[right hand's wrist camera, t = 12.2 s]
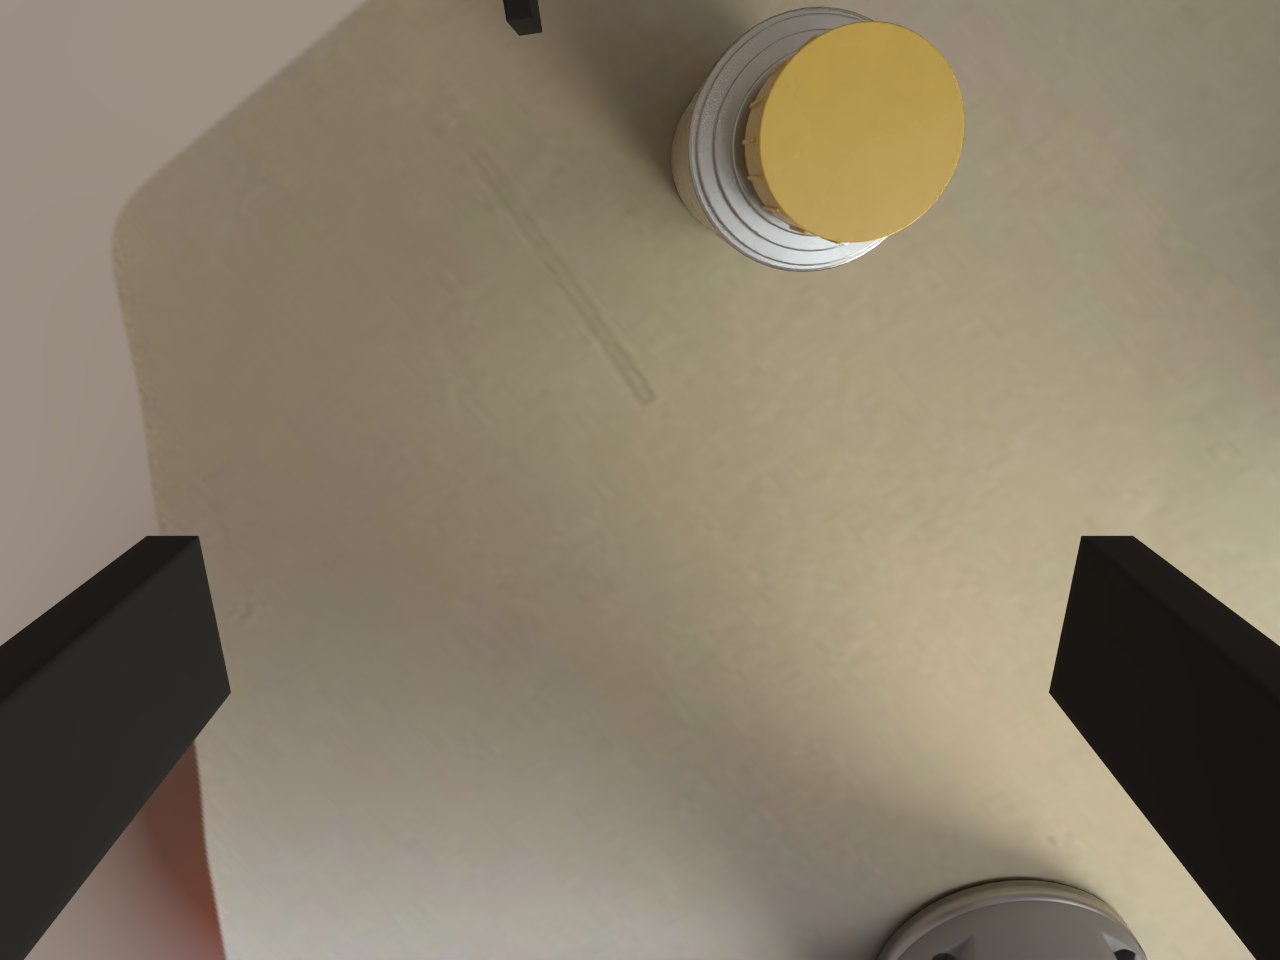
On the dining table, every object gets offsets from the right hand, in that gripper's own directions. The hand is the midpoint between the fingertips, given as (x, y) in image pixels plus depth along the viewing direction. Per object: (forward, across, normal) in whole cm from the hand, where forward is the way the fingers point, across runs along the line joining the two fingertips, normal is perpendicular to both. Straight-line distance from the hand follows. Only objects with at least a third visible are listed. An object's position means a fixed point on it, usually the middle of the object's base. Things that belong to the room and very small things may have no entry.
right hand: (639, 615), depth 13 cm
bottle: (+24, +4, +7) cm, 25 cm away
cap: (+6, +4, +7) cm, 10 cm away
